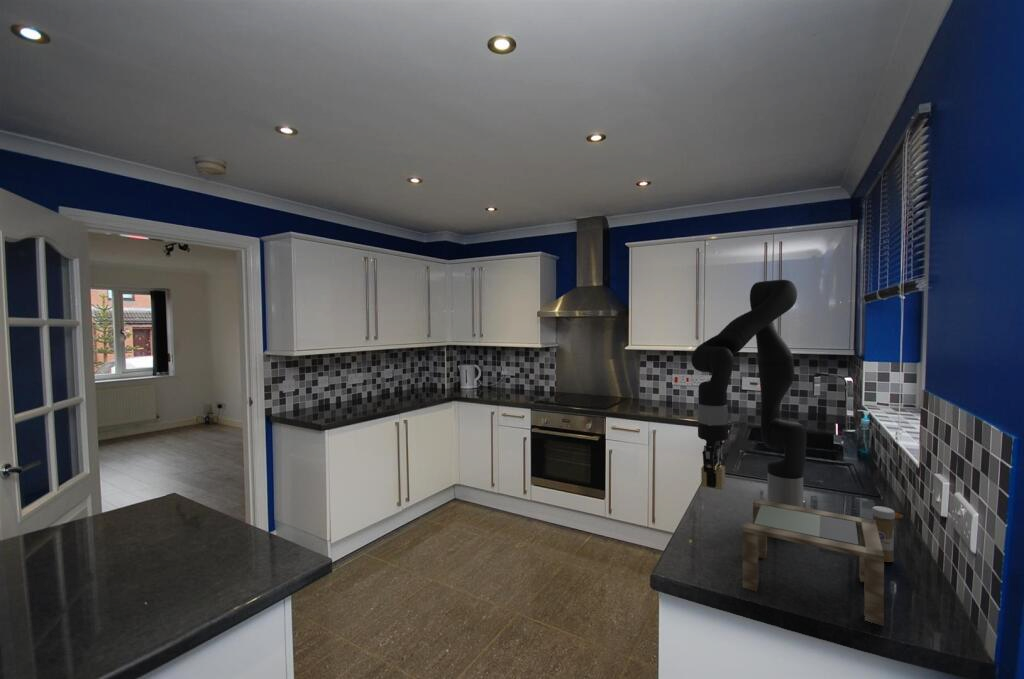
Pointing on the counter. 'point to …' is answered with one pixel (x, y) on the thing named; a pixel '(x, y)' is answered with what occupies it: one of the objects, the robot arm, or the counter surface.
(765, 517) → the trapdoor
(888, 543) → the sprinkles bottle
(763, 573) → the counter surface
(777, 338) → the robot arm
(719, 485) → the block
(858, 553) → the trapdoor frame
